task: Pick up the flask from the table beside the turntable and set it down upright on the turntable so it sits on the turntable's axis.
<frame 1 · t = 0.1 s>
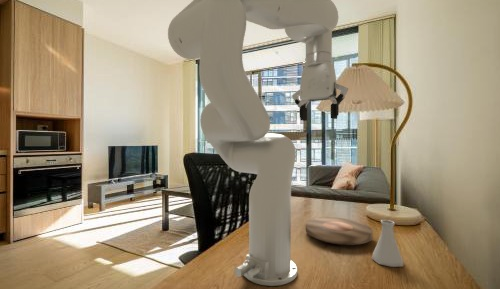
hand: (318, 119, 76), 37 cm above the table, tool pointing down, fingers open, 9 cm apart
turntable base: (337, 236, 80), on the table
flask: (387, 261, 64), on the table
turntable: (337, 229, 80), point 2 cm above the table, hinge at 0.0°
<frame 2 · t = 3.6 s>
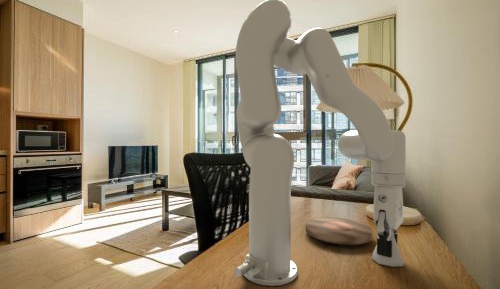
hand: (387, 250, 64), 2 cm above the table, tool pointing down, fingers closed on flask, 5 cm apart
flask: (387, 261, 64), on the table, touching gripper
everything else where it was.
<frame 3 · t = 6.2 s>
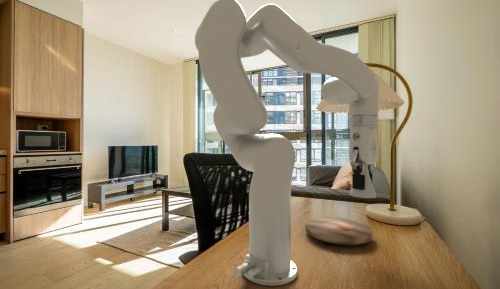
hand: (362, 187, 71), 17 cm above the table, tool pointing down, fingers closed on flask, 5 cm apart
flask: (362, 197, 71), point 15 cm above the table, touching gripper
everything else where it was.
when the fingers open (7 cm above the table, at t = 9.1 s): flask drops 1 cm, resting on turntable.
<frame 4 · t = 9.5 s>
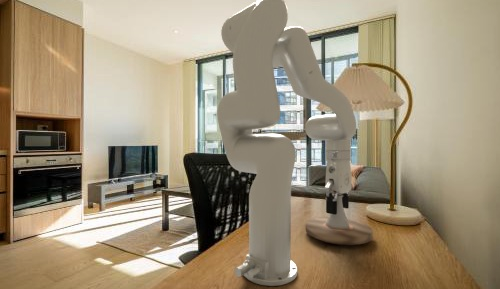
hand: (337, 210, 80), 8 cm above the table, tool pointing down, fingers open, 9 cm apart
flask: (337, 226, 80), point 3 cm above the table, touching turntable
turntable: (337, 229, 80), point 2 cm above the table, hinge at 0.0°, touching flask
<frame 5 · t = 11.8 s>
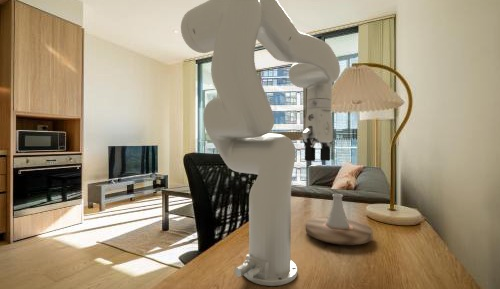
hand: (317, 160, 80), 24 cm above the table, tool pointing down, fingers open, 9 cm apart
nothing on the table moved.
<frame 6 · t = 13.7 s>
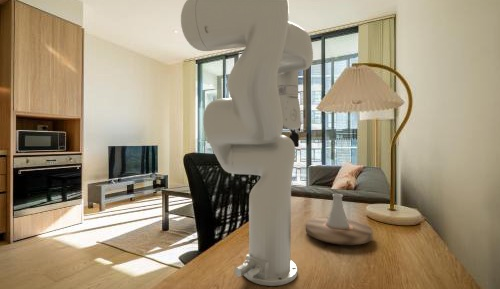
hand: (286, 147, 81), 28 cm above the table, tool pointing down, fingers open, 9 cm apart
nothing on the table moved.
at the end: flask 0.2 cm off-centre on the turntable, point 3.1 cm above the turntable's base; flask tilted 0°; the gripper is holding nothing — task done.
